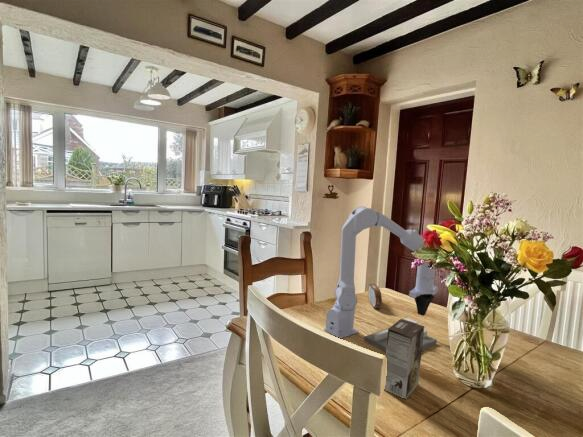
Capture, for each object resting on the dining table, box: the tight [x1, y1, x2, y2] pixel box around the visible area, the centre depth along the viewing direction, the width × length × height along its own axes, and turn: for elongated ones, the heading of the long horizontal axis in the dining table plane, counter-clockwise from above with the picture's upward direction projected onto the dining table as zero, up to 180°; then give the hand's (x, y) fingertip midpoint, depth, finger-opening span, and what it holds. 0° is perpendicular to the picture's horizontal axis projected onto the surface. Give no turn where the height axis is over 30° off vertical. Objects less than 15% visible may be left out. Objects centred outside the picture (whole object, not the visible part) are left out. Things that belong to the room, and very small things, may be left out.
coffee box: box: [384, 318, 425, 400], centre depth 84 cm, size 9×6×16 cm
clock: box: [367, 283, 383, 309], centre depth 144 cm, size 15×3×8 cm, turn 179°
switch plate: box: [364, 327, 438, 353], centre depth 110 cm, size 20×14×4 cm
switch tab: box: [403, 317, 419, 325], centre depth 112 cm, size 5×5×5 cm
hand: (421, 314), depth 116 cm, fingers closed
